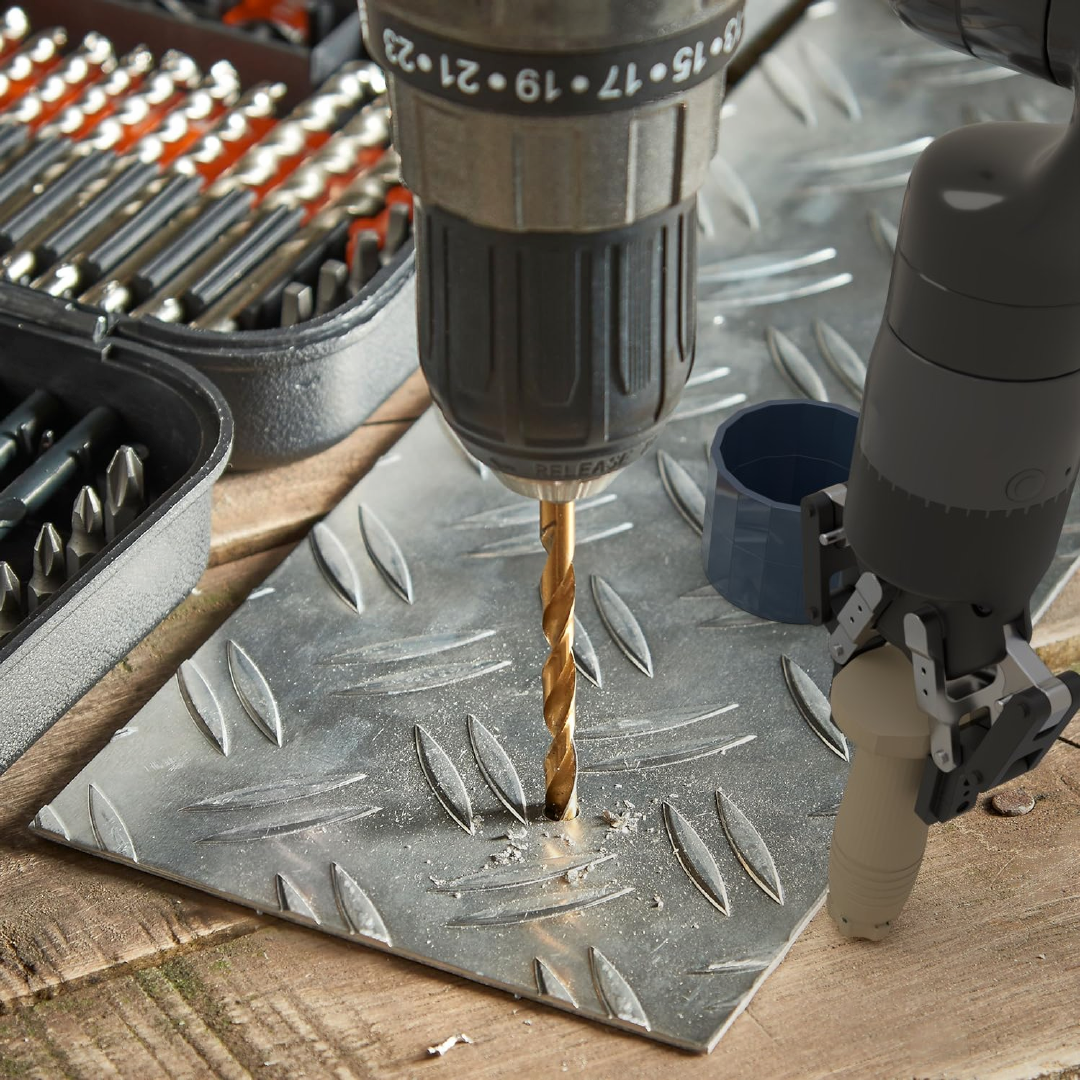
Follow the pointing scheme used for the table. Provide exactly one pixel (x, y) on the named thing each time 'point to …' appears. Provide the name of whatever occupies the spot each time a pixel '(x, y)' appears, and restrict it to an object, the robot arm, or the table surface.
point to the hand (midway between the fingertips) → (895, 764)
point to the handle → (878, 793)
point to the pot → (770, 499)
